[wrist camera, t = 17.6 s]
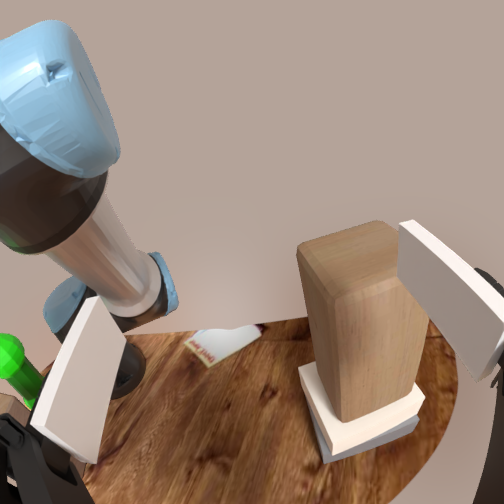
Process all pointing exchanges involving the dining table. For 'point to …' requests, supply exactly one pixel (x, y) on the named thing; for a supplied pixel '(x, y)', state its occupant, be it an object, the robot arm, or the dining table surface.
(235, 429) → the dining table surface
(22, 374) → the plastic bottle
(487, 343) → the robot arm
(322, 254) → the wooden block
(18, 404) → the decorative block
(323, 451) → the tower base
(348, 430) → the tower top
